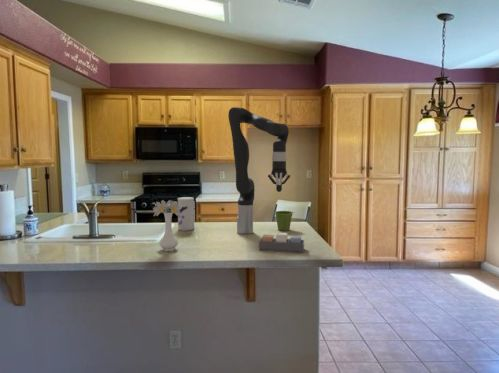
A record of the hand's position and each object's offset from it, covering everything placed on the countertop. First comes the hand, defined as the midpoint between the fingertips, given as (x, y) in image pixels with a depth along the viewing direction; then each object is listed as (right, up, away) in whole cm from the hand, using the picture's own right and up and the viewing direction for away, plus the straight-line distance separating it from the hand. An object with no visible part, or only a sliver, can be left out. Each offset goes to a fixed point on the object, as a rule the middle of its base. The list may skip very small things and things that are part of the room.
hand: (279, 191), depth 199 cm
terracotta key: (-7, -27, -17) cm, 32 cm away
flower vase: (-57, -29, -17) cm, 66 cm away
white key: (0, -25, -18) cm, 31 cm away
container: (-57, -24, +30) cm, 69 cm away
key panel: (0, -29, -18) cm, 34 cm away
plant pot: (+5, -25, +28) cm, 38 cm away
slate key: (+7, -27, -19) cm, 34 cm away
